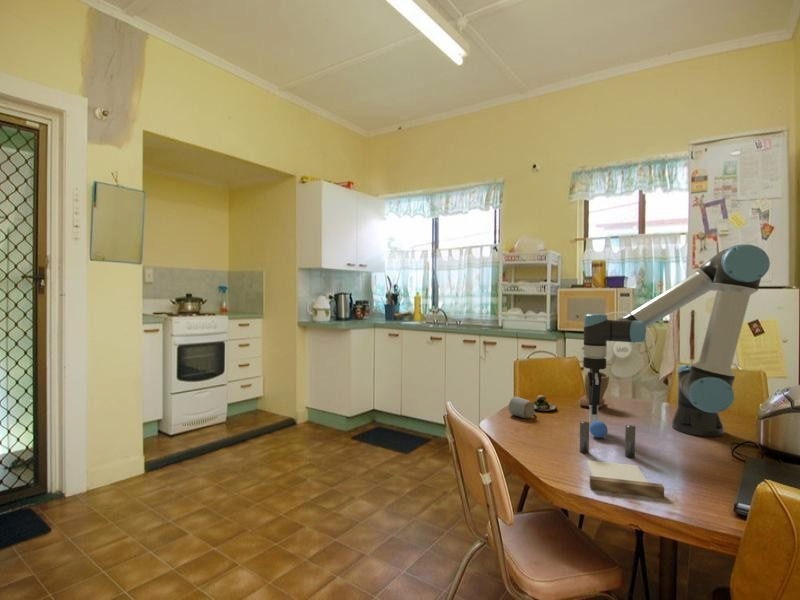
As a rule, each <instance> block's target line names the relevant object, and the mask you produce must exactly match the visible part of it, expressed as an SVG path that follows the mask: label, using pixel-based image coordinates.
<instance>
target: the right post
mask: <svg viewBox="0 0 800 600" xmlns="http://www.w3.org/2000/svg"><path fill="white" fill-rule="evenodd" d="M624 428H625V429H624V430H625V432H624V433H625V435H624V436H625V437H624V438H625V439H624V440H625V441H624V442H625V443H624V446H625V447H624V453H625V455H624V456H625V457H626V458H629V459H635V458H636V426H635V425H632V424H625V427H624Z"/></svg>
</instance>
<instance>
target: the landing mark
mask: <svg viewBox="0 0 800 600" xmlns="http://www.w3.org/2000/svg"><path fill="white" fill-rule="evenodd" d="M586 462H587V465H589V466H588V468H589V471H590V474H591V476H595V477H604V478H613V479H621V480H630V481H639V482H648V480H647V479H646V477H645V476H644V473H643V472H642V471H641V469H640V468H639V466H638V465H637V464H636V465H635V464H628V463H627V464H625V463H615V462H607V461H598V460H586Z"/></svg>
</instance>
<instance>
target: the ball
mask: <svg viewBox="0 0 800 600" xmlns="http://www.w3.org/2000/svg"><path fill="white" fill-rule="evenodd" d="M608 431H609V429H608V426H607V425H606V423H604V422H603V421H600V420H598V421H594V422H593V423H590V424H589V433H590V434H591V435H592V436H593V437H595V438H597V439H601V438H604V437H605V436H607V435H608Z"/></svg>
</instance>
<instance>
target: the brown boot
mask: <svg viewBox="0 0 800 600" xmlns="http://www.w3.org/2000/svg"><path fill="white" fill-rule="evenodd" d="M588 372H590V370H588V371H586V373H585V376H584V382H583V383H584V390H585V394H583V396H582V397H581V398H580V399H579V400H578V404H579V405H581V406H583V407H586V408H587V407H588V408H590V405H589V404H588V403H590V402H589V401H590V400H589V383H588V380H589V377H588ZM599 373H600V374H601V386H600V402H599V403H600V404H599V405H598V409H599V408H602V407H603V406H604V405H605V402H606V399H605V398H604V395H605V393H606V390H607V389H608V386H609V381H610V376H609V375H608V374H607V373H605V372H602V371H599Z"/></svg>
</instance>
